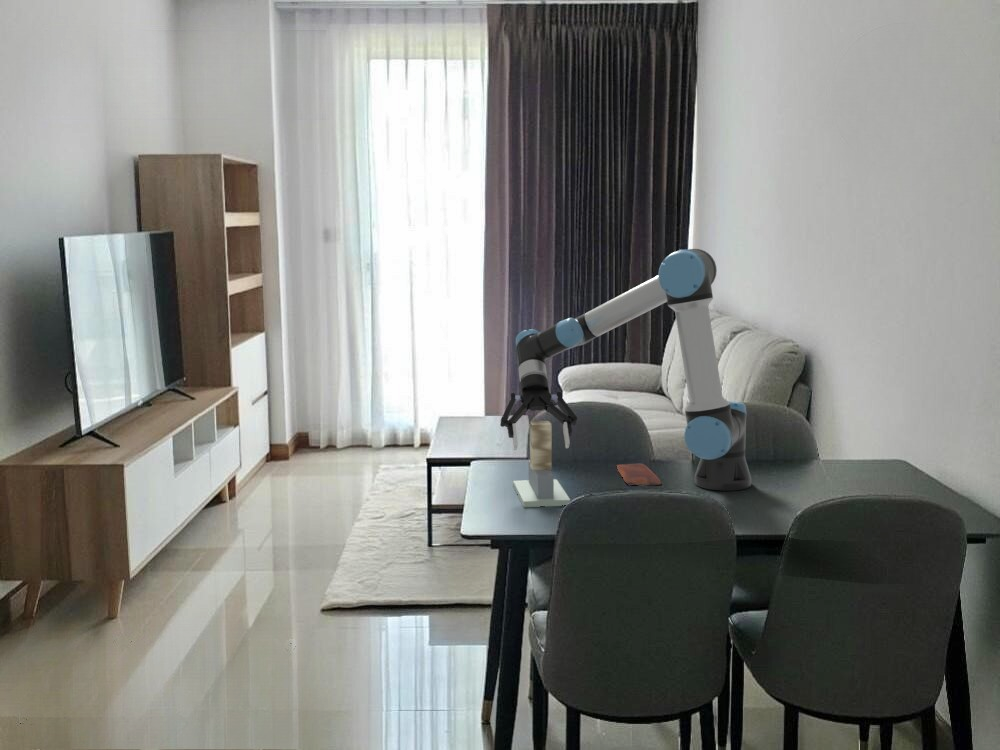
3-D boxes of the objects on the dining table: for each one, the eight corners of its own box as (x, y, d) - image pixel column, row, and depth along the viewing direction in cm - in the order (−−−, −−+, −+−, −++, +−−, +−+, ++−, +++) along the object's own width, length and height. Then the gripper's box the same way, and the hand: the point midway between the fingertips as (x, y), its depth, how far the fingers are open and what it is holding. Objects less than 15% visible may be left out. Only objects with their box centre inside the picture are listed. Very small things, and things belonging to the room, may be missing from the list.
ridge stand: (513, 486, 299) (512, 459, 298) (556, 484, 301) (556, 457, 300) (523, 507, 278) (523, 478, 277) (570, 505, 279) (570, 476, 278)
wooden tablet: (663, 487, 299) (663, 481, 299) (626, 488, 299) (626, 482, 298) (646, 465, 325) (647, 459, 325) (613, 465, 325) (613, 460, 325)
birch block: (548, 465, 291) (548, 420, 289) (551, 469, 286) (551, 424, 284) (529, 465, 290) (529, 421, 289) (532, 470, 286) (532, 424, 284)
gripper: (577, 387, 302) (587, 452, 289) (487, 389, 299) (493, 455, 287) (580, 371, 296) (591, 436, 283) (488, 373, 293) (495, 439, 281)
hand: (541, 446), depth 285 cm, fingers open, 13 cm apart
